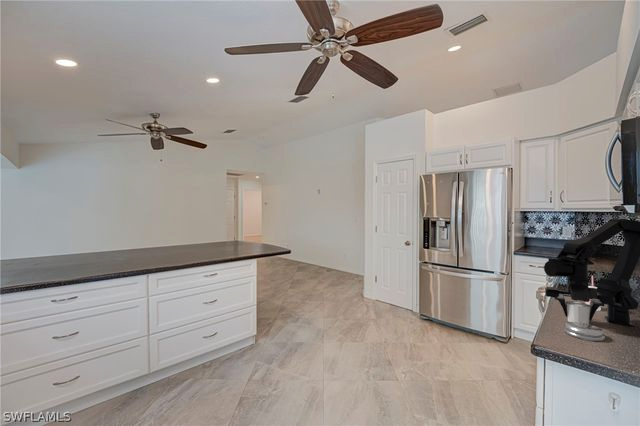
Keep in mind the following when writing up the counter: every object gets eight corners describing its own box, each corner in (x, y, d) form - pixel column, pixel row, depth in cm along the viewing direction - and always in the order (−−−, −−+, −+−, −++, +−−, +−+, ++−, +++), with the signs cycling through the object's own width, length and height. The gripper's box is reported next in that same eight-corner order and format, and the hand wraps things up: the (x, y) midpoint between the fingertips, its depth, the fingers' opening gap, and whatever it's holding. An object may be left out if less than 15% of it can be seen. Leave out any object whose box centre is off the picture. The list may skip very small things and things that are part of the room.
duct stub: (562, 326, 100) (562, 319, 100) (601, 333, 94) (601, 325, 94) (565, 336, 92) (565, 328, 92) (608, 344, 86) (608, 336, 86)
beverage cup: (579, 306, 121) (579, 274, 122) (596, 307, 120) (596, 274, 120) (589, 310, 116) (588, 277, 116) (607, 312, 114) (606, 277, 114)
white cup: (590, 322, 104) (590, 303, 104) (591, 327, 99) (591, 308, 99) (565, 317, 108) (565, 299, 108) (565, 322, 103) (565, 304, 103)
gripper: (546, 277, 103) (546, 319, 103) (619, 284, 92) (619, 332, 91) (544, 272, 112) (545, 311, 112) (611, 278, 100) (611, 321, 100)
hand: (578, 318), depth 104 cm, fingers closed on white cup, 6 cm apart
